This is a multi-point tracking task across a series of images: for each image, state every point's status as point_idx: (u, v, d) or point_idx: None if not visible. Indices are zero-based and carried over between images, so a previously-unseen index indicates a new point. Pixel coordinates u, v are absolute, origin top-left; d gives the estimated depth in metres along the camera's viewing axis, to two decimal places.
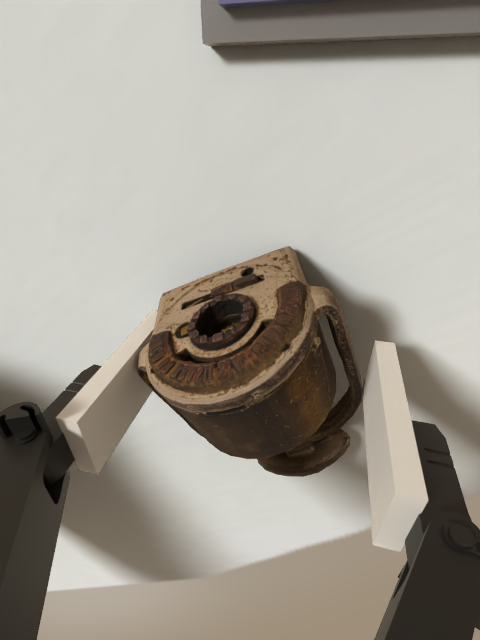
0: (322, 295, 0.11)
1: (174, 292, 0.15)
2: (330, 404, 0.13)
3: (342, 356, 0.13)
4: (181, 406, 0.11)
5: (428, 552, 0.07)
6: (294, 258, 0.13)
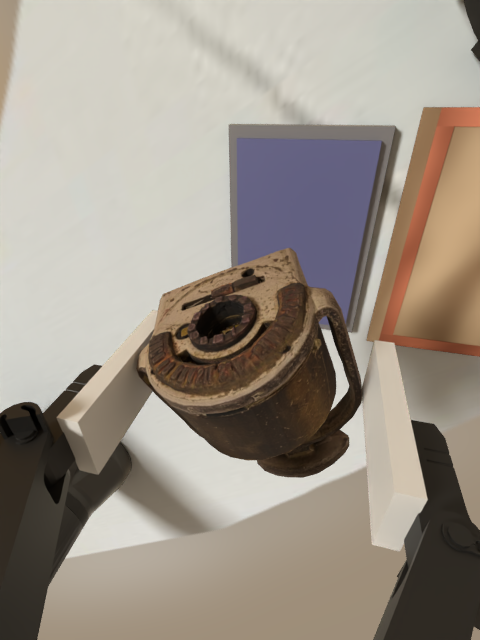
0: (323, 297, 0.11)
1: (175, 293, 0.15)
2: (330, 406, 0.13)
3: (342, 358, 0.13)
4: (181, 407, 0.11)
5: (427, 552, 0.07)
6: (295, 259, 0.13)
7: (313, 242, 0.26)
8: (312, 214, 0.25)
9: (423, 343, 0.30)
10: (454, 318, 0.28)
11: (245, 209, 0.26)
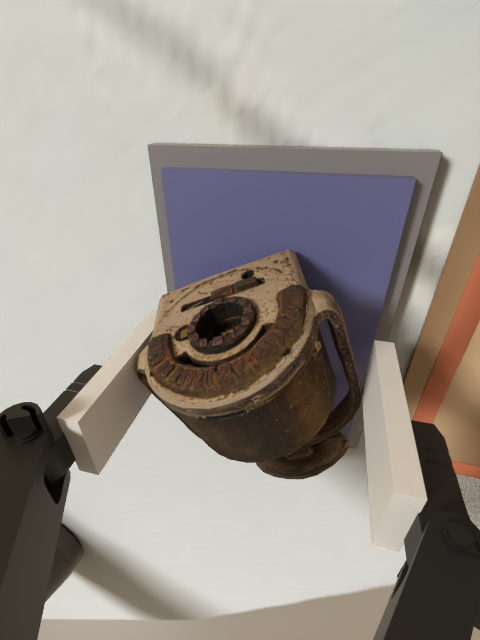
0: (323, 299, 0.11)
1: (174, 294, 0.15)
2: (330, 408, 0.13)
3: (342, 360, 0.13)
4: (180, 410, 0.11)
5: (427, 551, 0.07)
6: (295, 261, 0.13)
7: None
8: None
9: (464, 469, 0.20)
10: None
11: (186, 278, 0.16)
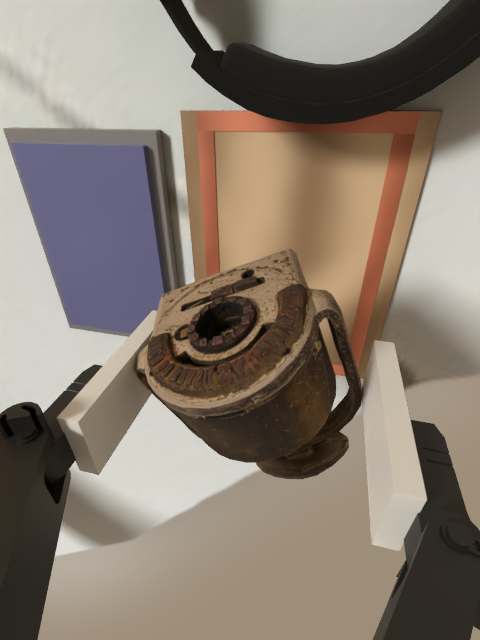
0: (323, 299, 0.11)
1: (174, 293, 0.15)
2: (330, 408, 0.13)
3: (342, 360, 0.13)
4: (180, 410, 0.11)
5: (427, 551, 0.07)
6: (295, 260, 0.13)
7: (114, 251, 0.25)
8: (104, 222, 0.24)
9: None
10: None
11: (42, 217, 0.25)
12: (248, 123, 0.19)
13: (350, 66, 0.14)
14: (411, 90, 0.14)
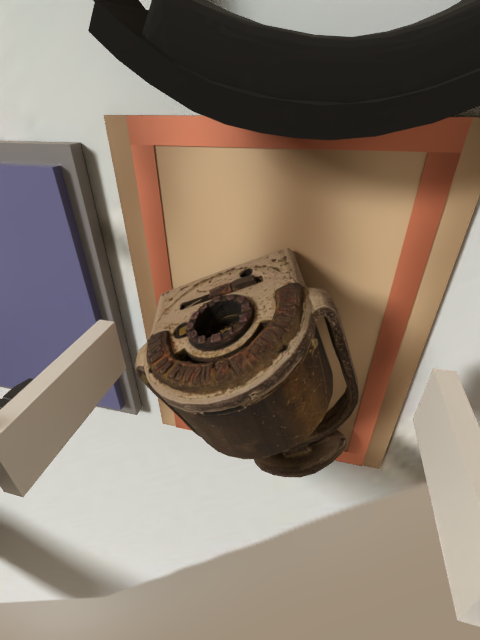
0: (320, 297, 0.11)
1: (173, 292, 0.15)
2: (327, 405, 0.13)
3: (339, 358, 0.13)
4: (179, 406, 0.11)
5: None
6: (293, 260, 0.13)
7: (36, 304, 0.18)
8: (17, 268, 0.17)
9: None
10: None
11: None
12: (202, 135, 0.13)
13: (377, 35, 0.08)
14: None
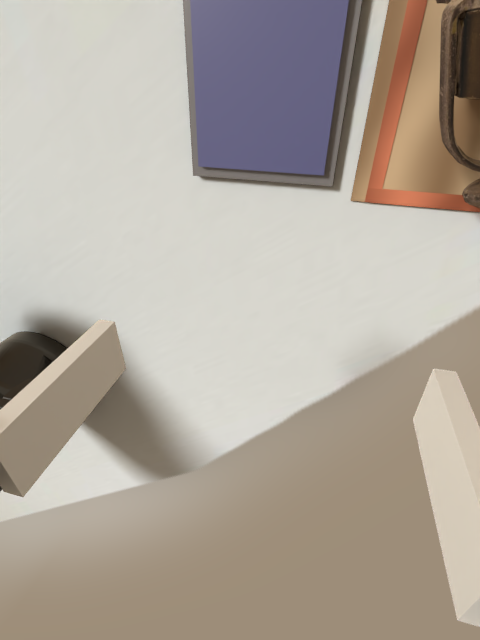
0: None
1: None
2: None
3: None
4: None
5: None
6: None
7: (283, 43, 0.21)
8: None
9: (419, 198, 0.24)
10: None
11: None
12: None
13: None
14: None
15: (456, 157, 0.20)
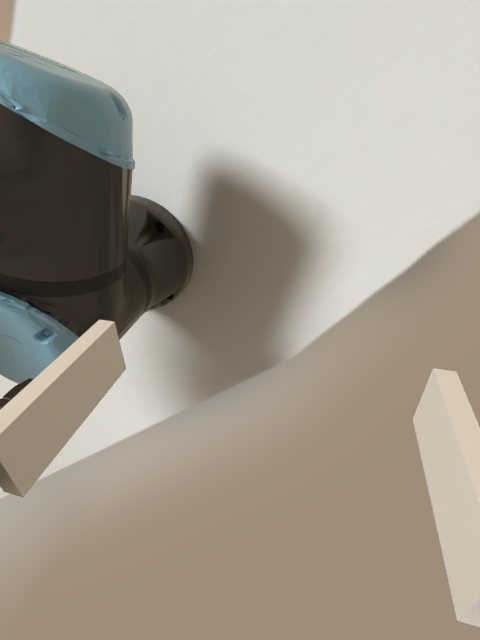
0: None
1: None
2: None
3: None
4: None
5: None
6: None
7: None
8: None
9: None
10: None
11: None
12: None
13: None
14: None
15: None
